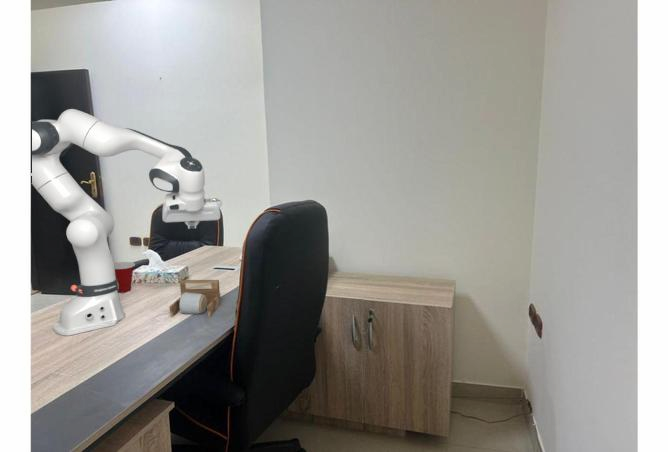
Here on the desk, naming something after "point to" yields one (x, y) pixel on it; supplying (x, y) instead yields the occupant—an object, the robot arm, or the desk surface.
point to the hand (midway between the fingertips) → (192, 227)
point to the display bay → (199, 287)
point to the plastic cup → (124, 275)
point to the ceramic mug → (193, 303)
